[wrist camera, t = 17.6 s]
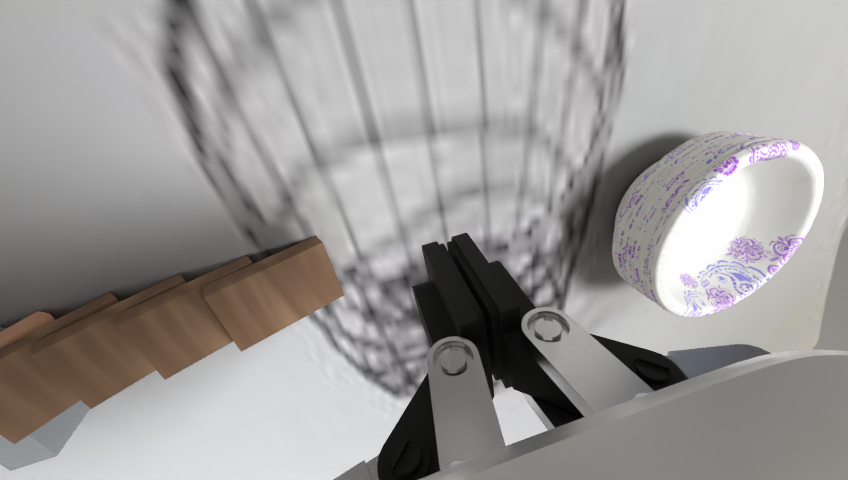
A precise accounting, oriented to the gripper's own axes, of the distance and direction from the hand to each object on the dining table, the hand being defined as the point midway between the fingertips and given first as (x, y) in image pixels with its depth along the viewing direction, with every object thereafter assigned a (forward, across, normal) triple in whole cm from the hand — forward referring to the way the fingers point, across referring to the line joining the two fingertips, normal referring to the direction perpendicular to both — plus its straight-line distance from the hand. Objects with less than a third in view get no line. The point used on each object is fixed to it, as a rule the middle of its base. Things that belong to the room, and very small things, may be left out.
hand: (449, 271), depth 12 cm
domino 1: (+13, +21, +7) cm, 26 cm away
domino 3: (+13, +12, +7) cm, 19 cm away
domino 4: (+13, +7, +7) cm, 16 cm away
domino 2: (+13, +16, +7) cm, 22 cm away
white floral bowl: (+14, -24, +11) cm, 30 cm away
